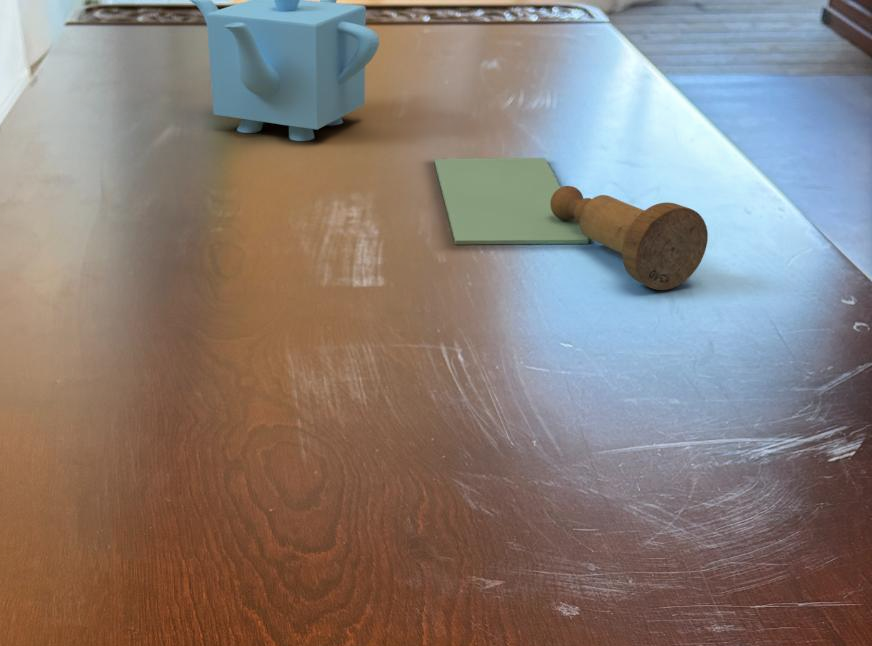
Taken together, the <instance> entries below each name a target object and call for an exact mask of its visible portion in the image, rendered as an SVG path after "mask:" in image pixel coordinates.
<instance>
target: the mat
mask: <svg viewBox="0 0 872 646" xmlns="http://www.w3.org/2000/svg"><path fill="white" fill-rule="evenodd" d="M433 163H434V167H435V171H436V175H437V178H438V183H439V187H440V190H441V194H442V198H443V202H444V206H445V210H446V213H447V216H448V221H449V225H450V229H451V233H452V236H453V241H454V244H455V245H456V246H457V245H458V246H459V245H575V244H576V245H587V244H589V241H590V238H588V237H586V236H585V235H584V234H583V233H582V231H581V228H580V223H578V222H577V221H576V219H575V218H573V219H571V220H561V219H559V218H557V217H556V216H555V215H554V214H553V212H552V210H551V206H550V201H551V198H552V195H553V194H554V192H555V191H556V190H558V189H559V188H561V187H562V186H560V183H559V182H558V180H557V177H556V176H555V174H554V172H553V170H552V169H551V167H550V165H549V162H548V161H547V159H546V157H492V158H491V157H487V158H484V157H483V158H481V157H479V158H474V157H473V158H471V157H470V158H468V157H467V158H465V157H463V158H434V160H433Z"/></svg>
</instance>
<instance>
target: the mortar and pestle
mask: <svg viewBox="0 0 872 646" xmlns="http://www.w3.org/2000/svg"><path fill="white" fill-rule="evenodd" d="M560 187H561V188H559V189H558V190H556V191H555V192H554V194H553V195H552V198H551V201H550V206H551V210H552V212H553V214H554V215H555V216H556V217H557V218H559V219H561V220H571V219H573V218H575V219H576V221H577V222H578V223H580V228H581V231H582V233H583V234H584V235H585V236H586V237H588V239H589V240H592V241H594V242H596V243H598V244H601V245H602V246H605V247H607V248H609V249H611V250H613V251H615V252H617V253H619V254H621V256H622V257H621V258H622V263H623V266H624V268H625V271H626V272H627V274H628V275H629V276H630V277H631V278H632V279H633V280H635V281H636V282H638V283H640V284H642V285H644V286H646V287H648V288H649V289H652V290H656V291H666V290H670V289H673V288H677V287H678V286H680V285H682V284H683V283H684V282H686V281H687V280H688V279H689V278H690V277H691V276H692V275H693V274H694V273H695V271H696V270H697V269H698V267H699V266H700V264H701V263H702V260H703V258H704V255H705V253H706V249H707V245H708V238H709V237H708V236H709V234H708V233H709V232H708V227H707V224H706V222H705V220H704V218H703V217H702V215H701V214H700V213H698V212H697V211H696V210H694V209H692V208H690V207H687V206H684V205H681V204H678V203H675V202H667V201H665V202H660V203H656V204H654V205H651V206H649V207H648V208H646V209H642V208H639V207H637V206H634V205H632V204H629V203H627V202H624V201H623V200H620V199H618V198H615V197H613V196H610V195H607V194H599V195H597V196H595V197H592V198H590V197H585V198H584V196H583V193H582V192H581V191H580V190H579V188H577V187H576V186H572V185H563V186H560Z"/></svg>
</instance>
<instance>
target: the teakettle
mask: <svg viewBox="0 0 872 646" xmlns="http://www.w3.org/2000/svg"><path fill="white" fill-rule="evenodd" d="M189 1H190V2H191V3H192V4H193V5H195V6H196V7H197V9H199V11H200V13H201V14H202V16H203V18H204V21H205V24H206V28H207V40H208V41H207V43H208V57H209V71H210V84H211V86H210V87H211V97H212V111H213V112H212V113H213V115H216V116H222V117H228V118H234V119H241V121H240V122H239V125H238V127H237V128H236V132H239V133H245V134H252V133H258V132H261V131H262V128H263V126H264V123H270V124H277V125H281V126H288V138H289V139H290V140H291V141H295V142H306V141H311V140H314V139H315V134H314V130H317V131H318V130H319V129H321V128H323V127H325V126H338V125H339V126H340V125H341V124H343V123H344V121H343V119H342V117H344V116H346V115H348V114H349V113H351V112H354V111H356V110H358V109H359V108H361V107H364V106H365V103H366V101H365V100H366V66H367V65H368V64H369V63H370V62H371V61H372V60H373V58H374V57H375V55H376V54H377V52H378V48H379V45H380V38H379V35H378V34H377V33H376V32H375V31H374V30H372V29H371V28H369V27H366V26H367V25H366V21H367V8H366V6H365V5H361V4H360V5H359V4H349V3H340V2H339V3H338V2H337V0H319V1H318V0H317V1H316V0H246V1H242V2H239V3H236V4H233V5H230V6H226V7H224V8H220V9H219V8H218V7H217V5H216V4H215V2H214V1H212V0H189Z"/></svg>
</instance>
